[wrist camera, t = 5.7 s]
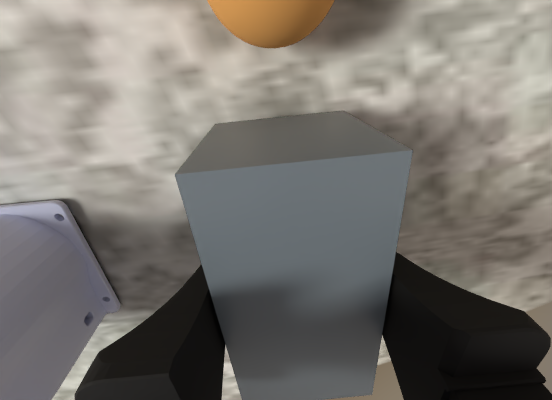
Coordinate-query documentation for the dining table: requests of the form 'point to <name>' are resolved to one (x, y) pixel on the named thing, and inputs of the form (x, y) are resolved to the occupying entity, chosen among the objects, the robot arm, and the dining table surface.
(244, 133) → the grey rectangular prism
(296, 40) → the ball
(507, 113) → the dining table surface
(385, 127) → the dining table surface
